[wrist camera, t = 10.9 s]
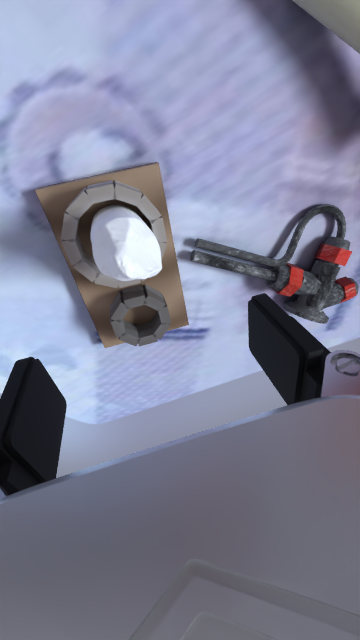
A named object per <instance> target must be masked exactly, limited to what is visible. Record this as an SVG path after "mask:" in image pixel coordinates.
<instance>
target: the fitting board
mask: <svg viewBox="0 0 360 640" xmlns="http://www.w3.org/2000/svg"><path fill="white" fill-rule="evenodd" d="M35 191H36V194H37V196H38V198H39V200H40V203H41V205H42V207H43V210H44V212H45V214H46V216H47V219H48V221H49V223H50V225H51V228H52V230H53V232H54V234H55V237H56V239H57V241H58V243H59V246H60V248H61V250H62V252H63V255H64V257H65V259H66V261H67V264H68V266H69V268H70V270H71V273H72V275H73V277H74V280H75V282H76V284H77V286H78V289H79V291H80V293H81V295H82V298H83V300H84V302H85V304H86V307H87V309H88V311H89V313H90V316H91V318H92V320H93V322H94V325H95V327H96V329H97V331H98V334H99V336H100V338H101V340H102V343H103V345H104V347H105V348H107V347H111V346H114V345H118V344H122V343H125V342H126V343H129V344H131V345H134V346H137V344H139V346H142V345H146V344H150V343H153V342H157V338H158V339H161V338H162V336H163V335H164V334H165V332H166V331H168V330H172V329H175V328H179V327H183V326H186V325H189V323H188V318H187V313H186V307H185V302H184V296H183V291H182V286H181V280H180V275H179V269H178V264H177V259H176V253H175V248H174V243H173V237H172V232H171V226H170V221H169V216H168V210H167V205H166V199H165V194H164V189H163V183H162V178H161V173H160V167H159V163H157V162H156V163H151V164H147V165H142V166H138V167H133V168H128V169H124V170H119V171H115V172H110V173H105V174H101V175H96V176H92V177H87V178H82V179H78V180H73V181H69V182H64V183H59V184H55V185H50V186H46V187H41V188H38V189H36V190H35ZM110 205H123V206H126V207H129V208H130V209H132V210H133V211H135V212H136V213H137V214H138V215H139V216H140V218H141V219H142V220H143V221H144V222H145V224H146V225H147V226H148V227H149V228H150V230H151V231H152V232H153V234H154V235H155V237H156V239H157V241H158V244H159V247H160V251H161V262H162V269H161V271H160V272H159V273H158V274H157V275H155V276H153V277H150V278H147V279H136V280H131V281H120V280H117V279H115V278H112V277H109V276H105V275H104V274H102V273H101V272H100V270H99V268H98V267H97V265H96V263H95V260H94V257H93V251H92V243H91V239H90V237H91V235H90V233H91V226H92V220H93V217H94V215H95V214H96V213H97V212H98V211H99V210H101V209H102V208H104V207H106V206H110Z"/></svg>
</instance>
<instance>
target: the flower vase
mask: <svg viewBox="0 0 360 640" xmlns="http://www.w3.org/2000/svg"><path fill="white" fill-rule="evenodd" d="M292 1H293V2H295V3H296V4H297V5H298V6H300V7H301V8H302V9H304V10H305V11H306V12H307V13H309V14H310V15H311V16H312V17H314V18H315V19H316V20H317V21H319V22H320V23H321V24H323V25H324V26H325V27H326V28H328V29H329V30H330V31H331V32H333V33H334V34H335V35H337V36H338V37H339V38H340V39H342V40H343V41H344V42H345V43H347V44H348V45H349V46H350V47H352V48H353V49H354V50H356V51H357V52H358V53H359V54H360V0H292Z"/></svg>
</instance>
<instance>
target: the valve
mask: <svg viewBox="0 0 360 640" xmlns="http://www.w3.org/2000/svg"><path fill="white" fill-rule="evenodd" d="M324 212H326V213H330V214H331V215H333V216H334V217H335V219H336V221H337V225H338V231H337V236H336V237H329V238H328V239H327V240H326V241H325V243H324V244H322V243H321V245H320V247H319V249H318V251H317V253H316V255H315V257H316V258H319V261H317V260H315V263H314V265H313V267H312V269H311V271H310V272H307V271H304V270H303V269H301V268H299V267H297V266H295V265H293V264H290V263H288V261H289V260H290V259H291V258H292V256H293V254H294V251H295V249H296V247H297V244H298V242H299V239H300V237H301V235H302V232H303V230H304V228H305V226H306V224H307V223H308V222H309V220H310V219H312V218H313V217H314V216H316V215H317V214H320V213H324ZM345 232H346V222H345V217H344V215H343V213H342V212H341V210H340V209H339V208H337V207H336V206H334V205H329V204H324V205H319V206H316V207H314V208H312V209H311V210H309V211H308V212H307V213H306V214H305V215H304V216H303V217H302V218H301V220H300V221H299V223H298V225H297V227H296V229H295V232H294V234H293V237H292V239H291V241H290V244H289V246H288V249H287V251H286V254H285V255H284V256H283V257H282V258H281V259H278V260H275V259H271V258H268V257H264V256H261V255H257V254H253V253H250V252H246V251H242V250H239V249H235V248H231V247H228V246H224V245H220V244H217V243H213V242H209V241H206V240H202V239H197V241H196V247H200V248H204V249H208V250H211V251H215V252H219V253H223V254H227V255H230V256H234V257H238V258H242V259H246V260H249V261H253V262H257V263H261V264H265V265H268V266H272V267H271V268H270V269H269V270H268V269H264V268H260V267H256V266H253V265H249V264H245V263H241V262H237V261H233V260H230V259H226V258H222V257H218V256H214V255H210V254H207V253H203V252H199V251H195V250H193V251H192V253H191V261H194V262H198V263H202V264H206V265H210V266H214V267H218V268H222V269H226V270H230V271H234V272H239V273H243V274H247V275H251V276H255V277H259V278H263V279H266V283H267V285H268V286H269V287H270V288H271V289H273V290H274V291H275V292H277V293H278V294H281V295H285V296H292V295H293V294H298V295H299V296H298V298H297V300H295V301H291V302H285V304H284V306H283V307H284V308H285V309H286V310H287V311H289V312H291V313H293V314H295V315H297V316H299V317H302V318H304V319H307V320H310V321H314V322H318V323H327V321H328V319H329V318H328V317H327V316H326V315H325V313H324V312H323V311H322V310H323V309H324V308H326V307H330V306H333V305H336V304H339V303H341V302H344V301H347V300H349V299H351V298H353V297H354V296H356V295H357V293H358V284H357V283H356V281H354V280H353V279H351V278H347V277H343V278H340V279H337V280H336V279H335V278H336V276H337V274H338V272H339V270H340V268H341V267H338V266H339V264H340V265H343V266H345V265H346V263H347V261H348V259H349V257H350V255H351V253H352V251H349V246H350V242H349V241H347V240H344V237H345Z"/></svg>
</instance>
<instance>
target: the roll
mask: <svg viewBox="0 0 360 640" xmlns="http://www.w3.org/2000/svg"><path fill="white" fill-rule="evenodd" d="M90 235H91V237H90V239H91V243H92V251H93V257H94V260H95V263H96V265H97V267H98V268H99V270H100V272H101V273H102V274H104V275H105V276H109V277H112V278H115V279H117V280H120V281H131V280H136V279H147V278H150V277H153V276H155V275H157V274H158V273H159V272H160V271H161V269H162V262H161V251H160V247H159V244H158V241H157V239H156V237H155V235H154V234H153V232H152V231H151V230H150V228H149V227H148V226H147V225H146V224H145V222H144V221H143V220H142V219H141V218H140V216H139V215H138V214H137V213H136V212H135V211H133V210H132V209H130V208H129V207H126V206H123V205H110V206H106V207H104V208H102V209H101V210H99V211H98V212H97V213H96V214H95V215H94V217H93V220H92V226H91V233H90Z"/></svg>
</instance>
